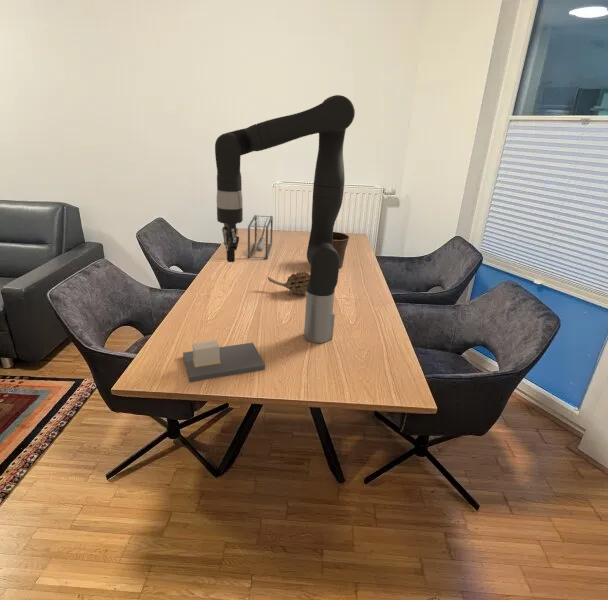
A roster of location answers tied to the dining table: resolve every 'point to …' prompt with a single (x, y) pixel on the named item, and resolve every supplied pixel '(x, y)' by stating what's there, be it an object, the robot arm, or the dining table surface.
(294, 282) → the pine cone
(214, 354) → the block
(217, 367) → the board
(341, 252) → the plant pot
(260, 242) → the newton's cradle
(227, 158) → the robot arm
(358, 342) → the dining table surface
